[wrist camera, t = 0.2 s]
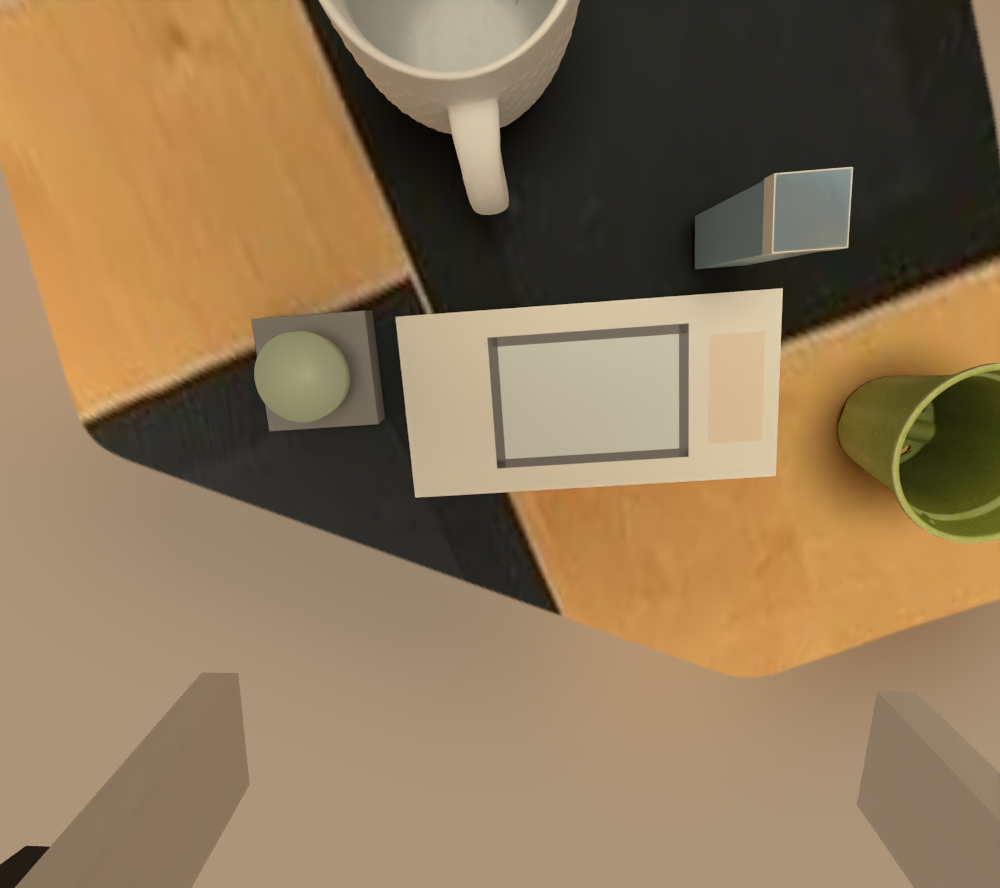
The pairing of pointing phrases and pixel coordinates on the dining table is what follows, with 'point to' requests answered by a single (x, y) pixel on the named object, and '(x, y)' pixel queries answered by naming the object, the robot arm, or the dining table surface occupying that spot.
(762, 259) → the square grey prism
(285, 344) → the button
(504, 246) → the dining table surface
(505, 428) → the sheet
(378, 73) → the mug
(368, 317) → the button housing
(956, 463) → the plant pot
